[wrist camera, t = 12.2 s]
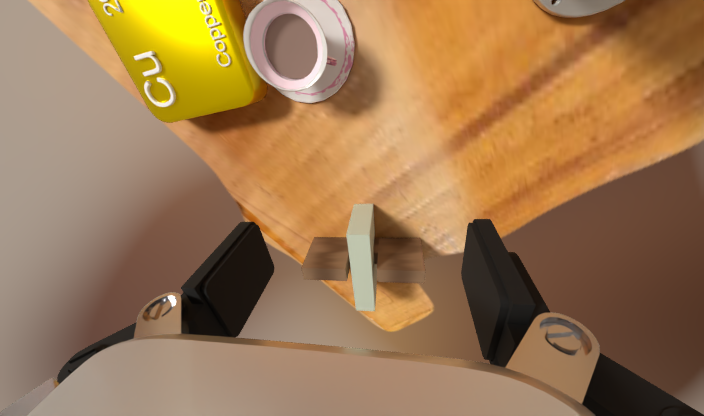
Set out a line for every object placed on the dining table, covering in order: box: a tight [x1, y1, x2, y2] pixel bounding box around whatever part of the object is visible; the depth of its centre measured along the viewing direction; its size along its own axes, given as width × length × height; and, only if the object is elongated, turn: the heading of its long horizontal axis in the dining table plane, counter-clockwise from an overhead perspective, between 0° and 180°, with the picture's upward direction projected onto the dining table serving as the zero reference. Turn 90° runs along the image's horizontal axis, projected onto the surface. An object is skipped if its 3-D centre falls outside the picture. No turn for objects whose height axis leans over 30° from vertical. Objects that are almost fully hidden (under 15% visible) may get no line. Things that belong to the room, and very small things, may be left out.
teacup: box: [243, 0, 355, 103], centre depth 27 cm, size 12×12×6 cm
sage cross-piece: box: [346, 204, 377, 311], centre depth 40 cm, size 3×15×8 cm, turn 5°
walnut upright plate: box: [301, 237, 425, 283], centre depth 40 cm, size 18×2×8 cm, turn 95°
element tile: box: [88, 0, 267, 123], centre depth 29 cm, size 15×15×5 cm
